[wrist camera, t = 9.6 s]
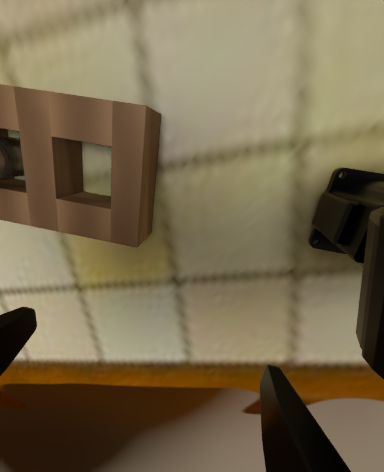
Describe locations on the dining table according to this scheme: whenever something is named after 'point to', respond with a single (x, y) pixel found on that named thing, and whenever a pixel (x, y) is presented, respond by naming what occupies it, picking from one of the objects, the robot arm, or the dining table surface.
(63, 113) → the socket block
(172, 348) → the dining table surface
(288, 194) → the dining table surface
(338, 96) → the dining table surface
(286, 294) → the dining table surface
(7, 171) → the peg
